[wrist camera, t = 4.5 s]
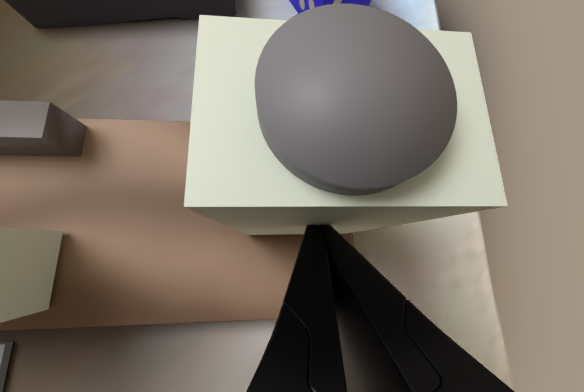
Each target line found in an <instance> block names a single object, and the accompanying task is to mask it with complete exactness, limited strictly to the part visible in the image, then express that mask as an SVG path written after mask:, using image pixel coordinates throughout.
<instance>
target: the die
mask: <svg viewBox="0 0 584 392" xmlns="http://www.w3.org/2000/svg"><path fill="white" fill-rule="evenodd" d="M370 1H371V0H290V2H291V3H292V5H293V6H294V7H295V9H296V10H297V12H298V13H299V14H300V13H302V12H304V11H306V10H309V9H312V8H315V7H319V6H323V5H328V4H339V3H342V4H358V5H365V6H369V3H370Z"/></svg>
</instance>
